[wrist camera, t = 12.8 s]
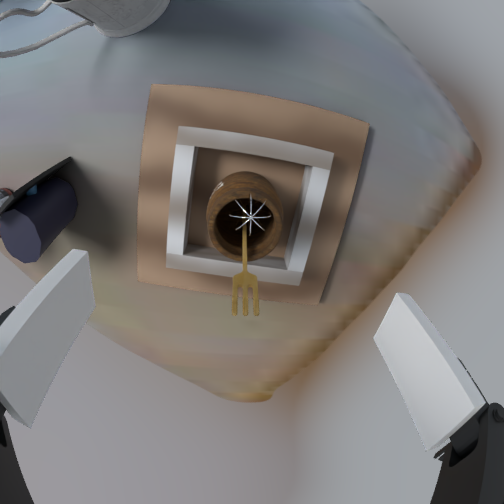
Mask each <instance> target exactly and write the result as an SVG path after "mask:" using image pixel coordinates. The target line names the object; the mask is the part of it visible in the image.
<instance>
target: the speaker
mask: <svg viewBox="0 0 504 504" xmlns="http://www.w3.org/2000/svg"><path fill="white" fill-rule="evenodd" d="M70 160H72V159H71V157H68V158H67V159H65V160H63V161H61V162H60V163H58V164H56V165H55V166H53V167H51V168H50V169H48V170H46V171H45V172H43V173H42V174H40V175H39V176H37V177H35V178H34V179H32V180H31V181H29V182H28V183H27V184H25V185H24V186H22V187H21V188H19V189H18V190H17V191H15V192H14V193H12V194H11V195H10V196H9V198H8V199H7V200H6V201H5V202H4V203H3V204H2V206H1V207H0V216H1V218H0V235H1V238H2V240H3V242H4V245H5V247H6V249H7V250H8V252H9V253H10V254H11V255H12V256H13V257H15V258H17V259H18V260H20V261H22V262H23V263H30V262H36V261H37V260H38V259H39V257H40V256H41V255H42V254H43V252H44V251H45V250H46V249H47V247H48V246H49V245H50V244H51V243H52V242H53V240H54V239H55V238H56V237H57V236H58V235H59V233H60V232H61V231H62V230H63V229H64V228H65V227H66V226H67V224H68V223H69V222H70V221H71V220H72V219H73V218H74V216H75V212H76V209H77V205H78V203H77V200H76V196H75V193H74V189H73V188H72V187H71V185H70V184H69V183H67V182H65V181H63V180H61V179H59V178H58V177H55V178H52V179H49V180H47V179H48V178H50V177H51V176H52V175H53V174H54V173H56V172H57V171H58V170H59V169H60V168H62V167H63V166H64V165H65V164H67V163H68V162H69V161H70Z"/></svg>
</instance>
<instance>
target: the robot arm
mask: <svg viewBox="0 0 504 504" xmlns="http://www.w3.org/2000/svg"><path fill="white" fill-rule="evenodd" d="M95 307H96V305H95V299H94V293H93V287H92V280H91V273H90V265H89V256H88V251H83V250H77V249H72V250H71V251H70V252H69V253H68V254H67V255H66V256H65V257H64V258H63V259H62V260H61V261H60V262H59V263H57V264H56V265H55V266H54V267H53V268H52V269H51V270H50V271H49V272H48V273H47V274H46V275H45V276H44V277H43V278H42V279H41V280H40V282H39V283H38V284H37V285H36V286H35V287H34V288H33V289H32V290H31V291H30V292H29V293H28V294H27V295H26V297H25V298H24V299H23V300H22V301H21V302H20V303H19V304H18V306H17V307H15V306H13V307H11V308H9V309H8V310H6V311H5V312H3V313H2V314H1V315H0V504H34V502H33V500H32V498H31V495H30V493H29V491H28V489H27V486H26V483H25V481H24V478H23V475H22V473H21V470H20V467H19V464H18V461H17V458H16V455H15V451H14V448H13V445H12V440H11V437H10V433H9V429H8V424H7V421H6V418H5V416H4V413H5V411H6V410H7V411H8V413H9V414H10V415H11V416H12V417H13V418H14V419H15V420H17V421H18V422H20V423H22V424H23V425H26V426H27V427H29V428H31V427H32V424H33V422H34V420H35V417H36V415H37V413H38V411H39V408H40V406H41V404H42V402H43V400H44V398H45V396H46V393H47V392H48V389H49V387H50V385H51V383H52V382H53V380H54V378H55V376H56V374H57V372H58V370H59V368H60V366H61V364H62V362H63V361H64V359H65V357H66V355H67V353H68V351H69V350H70V348H71V346H72V344H73V343H74V341H75V339H76V338H77V336H78V334H79V333H80V331H81V329H82V328H83V326H84V324H85V323H86V321H87V320H88V318H89V316H90V315H91V313H92V312H93V310H94V308H95ZM373 339H374V341H375V343H376V345H377V347H378V349H379V351H380V353H381V355H382V357H383V359H384V361H385V362H386V364H387V367H388V369H389V370H390V373H391V375H392V377H393V379H394V381H395V383H396V385H397V387H398V389H399V391H400V393H401V396H402V398H403V400H404V402H405V404H406V406H407V408H408V411H409V413H410V415H411V417H412V420H413V422H414V424H415V426H416V429H417V431H418V434H419V436H420V438H421V441H422V443H423V446H424V448H425V450H426V451H428V450H430V449H433V448H435V447H438V446H440V445H441V444H442V443H443V442H445V441H446V440H447V439H448V438H450V440H451V442H450V443H448V444H447V445H446V446H445V447H443V448H442V449H441V450H440V451H438V452H437V453H436V454H435V456H434V458H437V457H438V456H440V455H441V454H442V453H444V452H445V453H444V454H443V455H442V456H441V457H440V458H439V460H440V461H443V462H442V466H441V470H440V474H439V477H438V481H437V484H436V487H435V491H434V494H433V497H432V500H431V503H430V504H504V408H503V407H502V406H501V405H500V404H498V403H491V404H490V405H489V404H488V403H487V401H486V399H485V398H484V396H483V395H482V393H481V391H480V389H479V388H478V386H477V385H476V383H475V382H474V380H473V378H471V375H470V374H469V372H468V371H466V368H465V366H464V365H463V363H462V362H461V361H460V360H459V359H458V358H457V357H456V355H455V354H454V352H453V351H452V350H451V348H450V347H449V346H448V344H447V343H446V341H445V340H444V338H443V337H442V336H441V334H440V333H439V332H438V330H437V329H436V328H435V326H434V325H433V324H432V322H431V321H430V320H429V319H428V317H427V316H426V315H425V313H424V312H423V311H422V310H421V308H420V307H419V306H418V305H417V304H416V302H415V301H414V300H413V299H412V297H411V296H410V295H409V294H407V293H396V294H395V297H394V299H393V301H392V303H391V305H390V307H389V309H388V311H387V313H386V315H385V317H384V319H383V321H382V323H381V324H380V326H379V328H378V330H377V332H376V334H375V336H374V338H373Z"/></svg>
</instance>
